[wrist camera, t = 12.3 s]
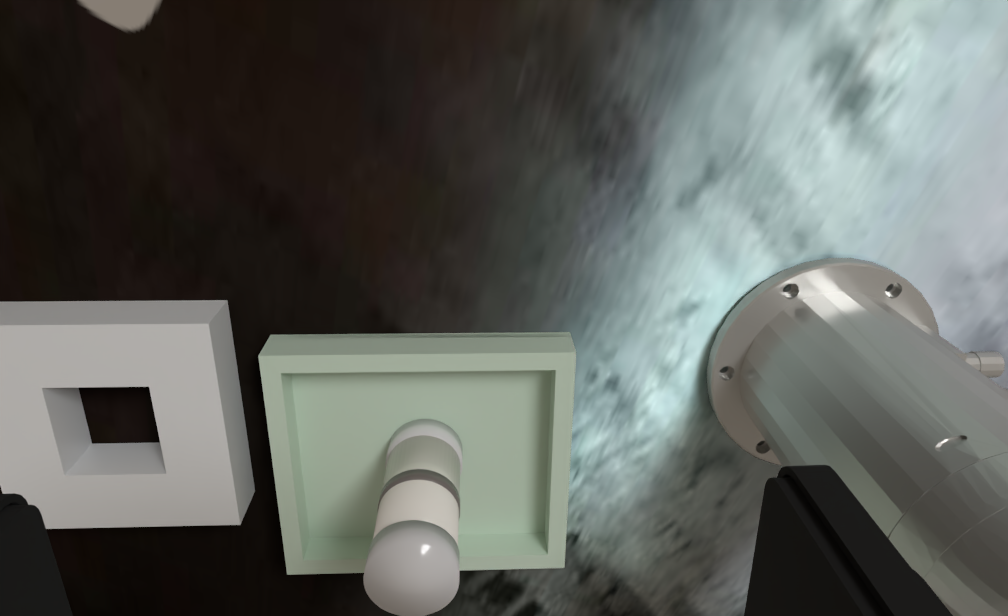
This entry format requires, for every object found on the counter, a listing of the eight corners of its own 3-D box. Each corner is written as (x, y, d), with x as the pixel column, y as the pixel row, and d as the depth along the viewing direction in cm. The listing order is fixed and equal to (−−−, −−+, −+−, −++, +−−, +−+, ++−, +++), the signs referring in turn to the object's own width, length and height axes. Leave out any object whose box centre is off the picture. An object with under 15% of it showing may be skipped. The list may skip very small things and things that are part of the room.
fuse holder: (227, 300, 38) (208, 323, 35) (255, 490, 43) (240, 524, 40) (-11, 301, 38) (-49, 325, 35) (43, 494, 42) (13, 529, 39)
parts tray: (569, 332, 40) (576, 352, 37) (559, 539, 45) (564, 567, 43) (270, 334, 39) (258, 355, 37) (296, 544, 44) (287, 574, 42)
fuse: (461, 417, 41) (457, 541, 32) (463, 480, 42) (460, 615, 33) (385, 419, 41) (359, 544, 31) (391, 482, 42) (367, 618, 33)
